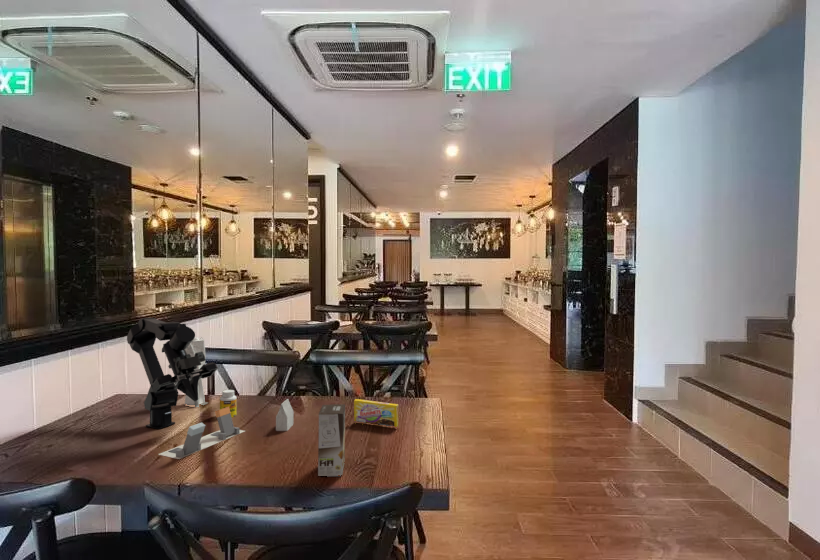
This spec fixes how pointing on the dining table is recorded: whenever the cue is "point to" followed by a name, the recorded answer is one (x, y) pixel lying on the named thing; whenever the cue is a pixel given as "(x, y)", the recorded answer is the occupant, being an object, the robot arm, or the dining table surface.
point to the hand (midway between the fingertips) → (196, 400)
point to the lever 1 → (193, 438)
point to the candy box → (376, 412)
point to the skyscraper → (193, 348)
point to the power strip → (201, 443)
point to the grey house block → (284, 417)
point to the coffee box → (331, 440)
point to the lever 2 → (225, 421)
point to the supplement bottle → (229, 401)
